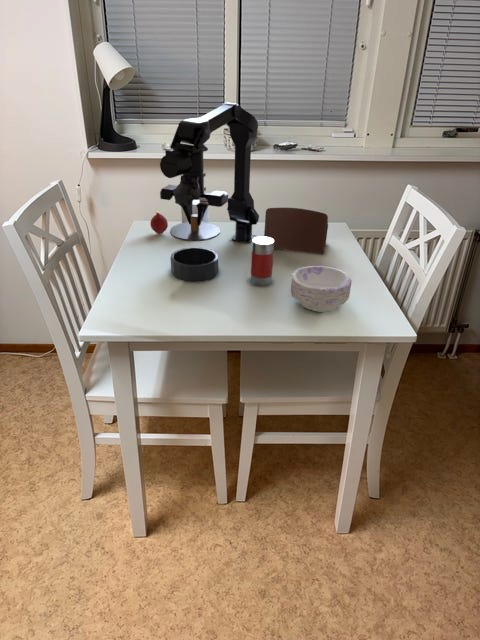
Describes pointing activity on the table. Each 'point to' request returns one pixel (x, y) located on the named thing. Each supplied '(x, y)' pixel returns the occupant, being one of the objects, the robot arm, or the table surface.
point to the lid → (194, 230)
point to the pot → (194, 264)
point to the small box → (195, 212)
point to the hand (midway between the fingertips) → (194, 224)
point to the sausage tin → (262, 261)
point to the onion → (159, 223)
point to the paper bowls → (320, 287)
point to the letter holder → (297, 229)
